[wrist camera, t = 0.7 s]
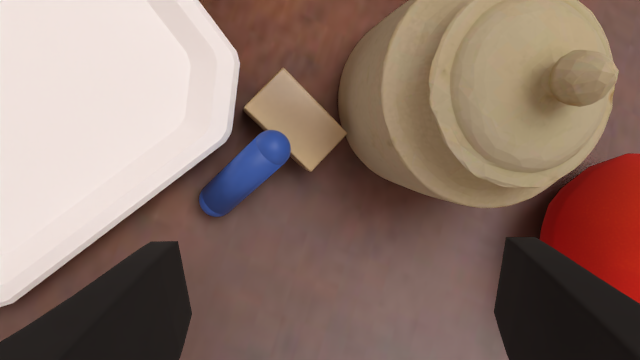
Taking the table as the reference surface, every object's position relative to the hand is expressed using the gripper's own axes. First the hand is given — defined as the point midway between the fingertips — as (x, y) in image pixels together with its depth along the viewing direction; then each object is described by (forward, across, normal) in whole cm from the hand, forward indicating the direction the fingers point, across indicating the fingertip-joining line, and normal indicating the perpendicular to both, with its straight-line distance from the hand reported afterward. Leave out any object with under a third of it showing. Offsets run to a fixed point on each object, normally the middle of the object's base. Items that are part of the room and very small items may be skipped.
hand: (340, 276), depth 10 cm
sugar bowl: (+21, -5, 0) cm, 22 cm away
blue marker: (+14, +5, +4) cm, 16 cm away
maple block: (+18, +3, +2) cm, 18 cm away
